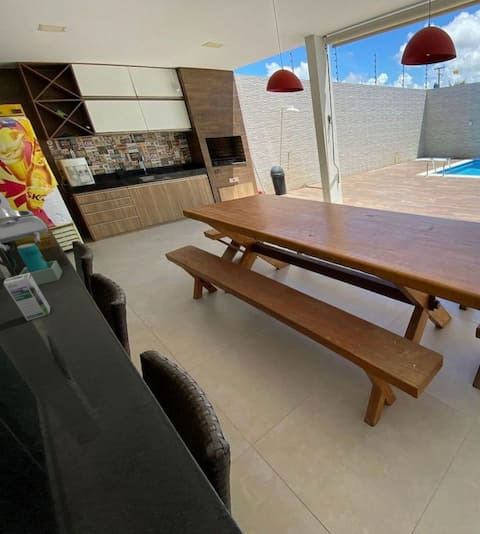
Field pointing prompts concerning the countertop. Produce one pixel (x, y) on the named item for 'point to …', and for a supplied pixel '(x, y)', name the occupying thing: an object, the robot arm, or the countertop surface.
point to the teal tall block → (32, 257)
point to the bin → (45, 273)
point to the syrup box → (27, 296)
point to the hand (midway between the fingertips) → (23, 246)
